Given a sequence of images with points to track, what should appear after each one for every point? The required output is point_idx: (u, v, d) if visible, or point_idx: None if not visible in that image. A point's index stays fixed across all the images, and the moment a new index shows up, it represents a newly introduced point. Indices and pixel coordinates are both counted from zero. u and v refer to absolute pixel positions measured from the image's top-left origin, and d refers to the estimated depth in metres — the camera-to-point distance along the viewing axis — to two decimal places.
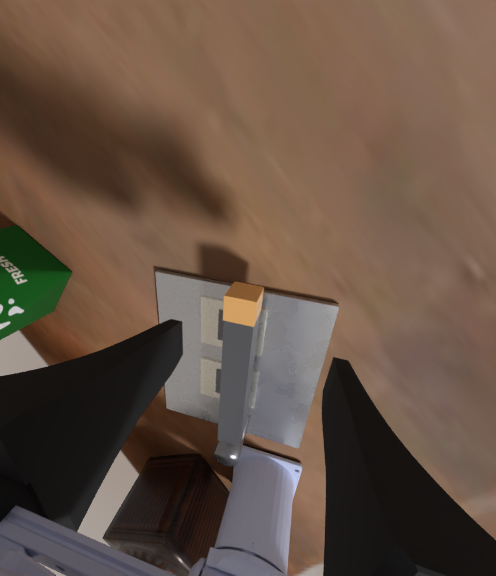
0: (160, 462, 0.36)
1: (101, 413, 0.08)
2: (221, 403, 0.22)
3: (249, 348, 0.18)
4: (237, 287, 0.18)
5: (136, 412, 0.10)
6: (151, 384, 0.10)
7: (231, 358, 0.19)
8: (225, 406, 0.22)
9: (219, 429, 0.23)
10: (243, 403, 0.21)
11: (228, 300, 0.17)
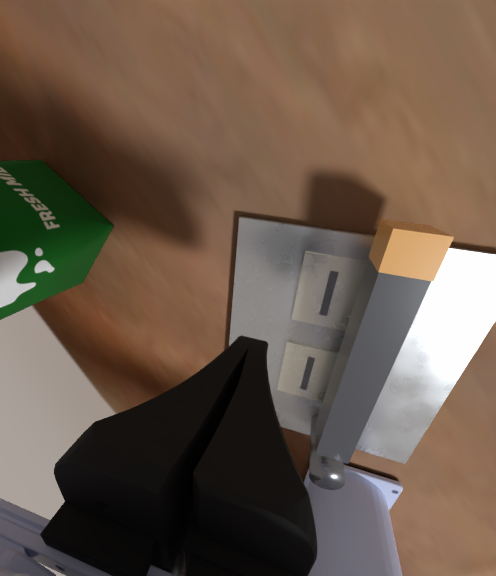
0: None
1: (206, 448, 0.07)
2: (336, 403, 0.15)
3: (412, 318, 0.12)
4: (395, 223, 0.12)
5: None
6: None
7: (375, 334, 0.13)
8: (341, 407, 0.15)
9: (322, 439, 0.17)
10: (373, 403, 0.14)
11: (399, 236, 0.11)
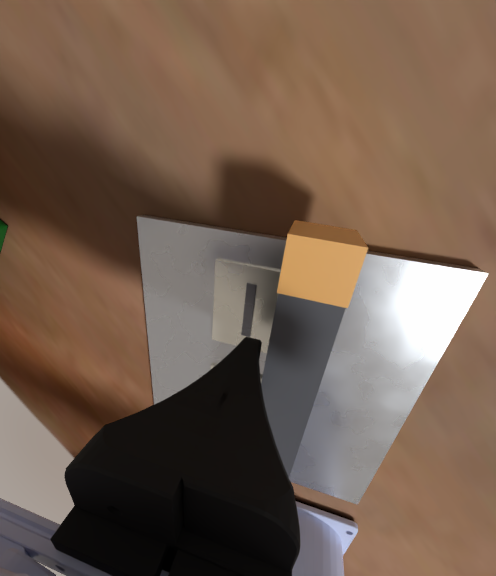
0: None
1: None
2: None
3: (326, 354, 0.09)
4: (306, 226, 0.09)
5: None
6: None
7: (284, 372, 0.10)
8: None
9: None
10: (294, 453, 0.11)
11: (296, 245, 0.08)
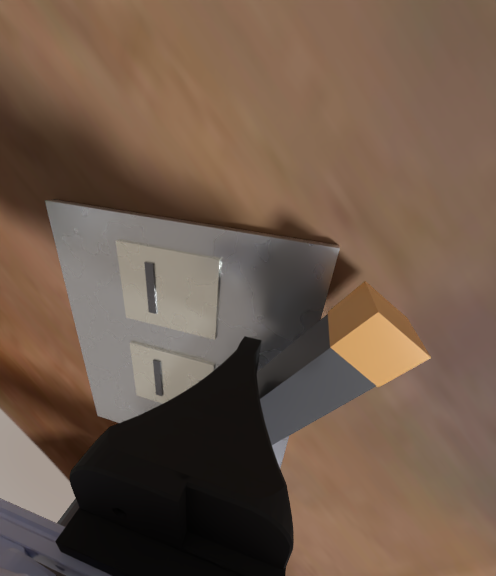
0: None
1: None
2: None
3: (333, 407, 0.10)
4: (379, 299, 0.09)
5: None
6: None
7: (286, 402, 0.10)
8: None
9: None
10: None
11: (378, 324, 0.08)
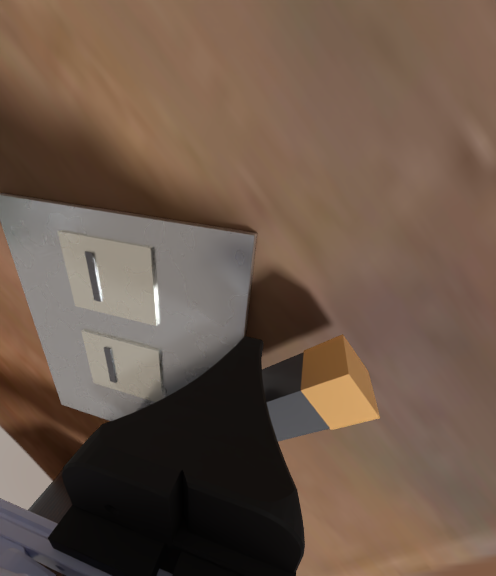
0: None
1: None
2: None
3: (288, 436, 0.11)
4: (350, 355, 0.10)
5: None
6: None
7: None
8: None
9: None
10: None
11: (345, 383, 0.09)
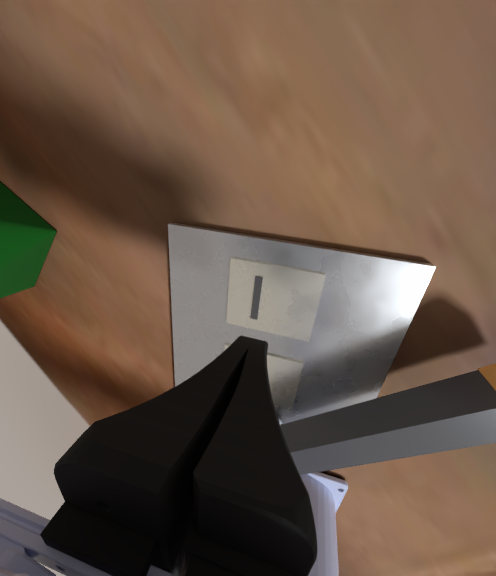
0: None
1: (206, 448, 0.07)
2: (338, 444, 0.15)
3: (476, 444, 0.13)
4: None
5: None
6: None
7: (437, 433, 0.13)
8: (337, 449, 0.15)
9: None
10: (365, 463, 0.15)
11: None
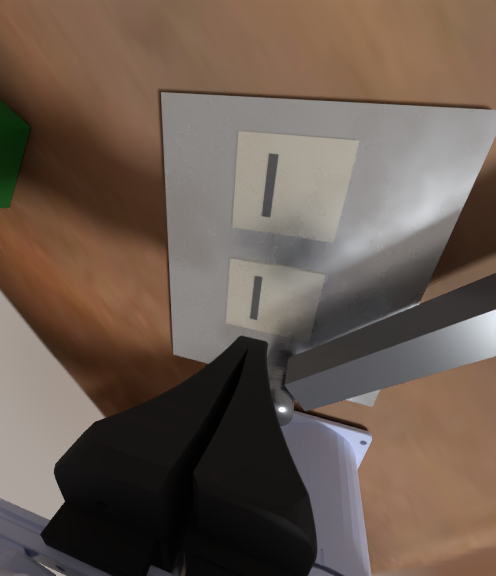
0: None
1: (206, 448, 0.07)
2: (374, 356, 0.12)
3: None
4: None
5: None
6: None
7: None
8: (372, 363, 0.12)
9: (310, 378, 0.14)
10: (407, 379, 0.12)
11: None
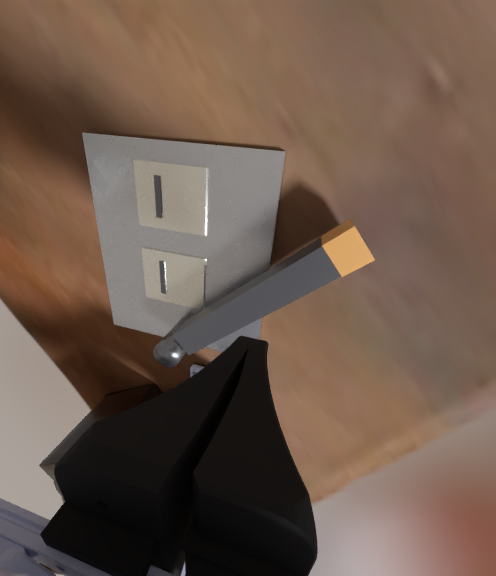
0: (115, 396, 0.33)
1: (206, 448, 0.07)
2: (218, 311, 0.18)
3: (311, 289, 0.16)
4: None
5: None
6: None
7: (283, 283, 0.16)
8: (219, 316, 0.19)
9: (186, 329, 0.20)
10: (241, 326, 0.18)
11: (352, 234, 0.14)
